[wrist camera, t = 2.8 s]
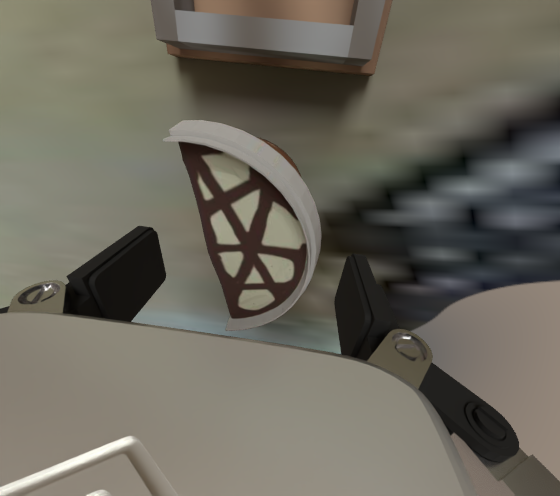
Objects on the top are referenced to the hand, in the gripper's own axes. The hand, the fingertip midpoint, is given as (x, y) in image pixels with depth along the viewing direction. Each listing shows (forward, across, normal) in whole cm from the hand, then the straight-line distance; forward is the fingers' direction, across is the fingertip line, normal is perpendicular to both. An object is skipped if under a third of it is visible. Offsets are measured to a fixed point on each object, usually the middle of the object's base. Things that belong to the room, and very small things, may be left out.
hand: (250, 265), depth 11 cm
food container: (+10, -1, 0) cm, 11 cm away
